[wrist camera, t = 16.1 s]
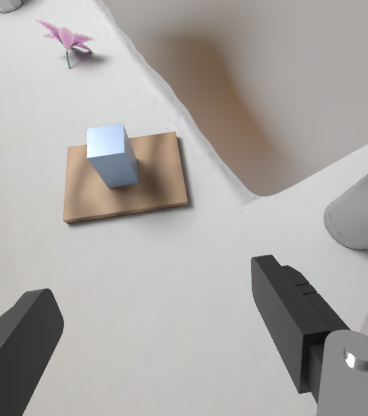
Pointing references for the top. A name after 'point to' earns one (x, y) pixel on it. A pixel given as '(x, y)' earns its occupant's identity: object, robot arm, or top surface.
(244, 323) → the top surface
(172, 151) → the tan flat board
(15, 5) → the coffee maker
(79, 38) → the lily
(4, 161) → the top surface
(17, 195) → the top surface
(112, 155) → the light blue block
